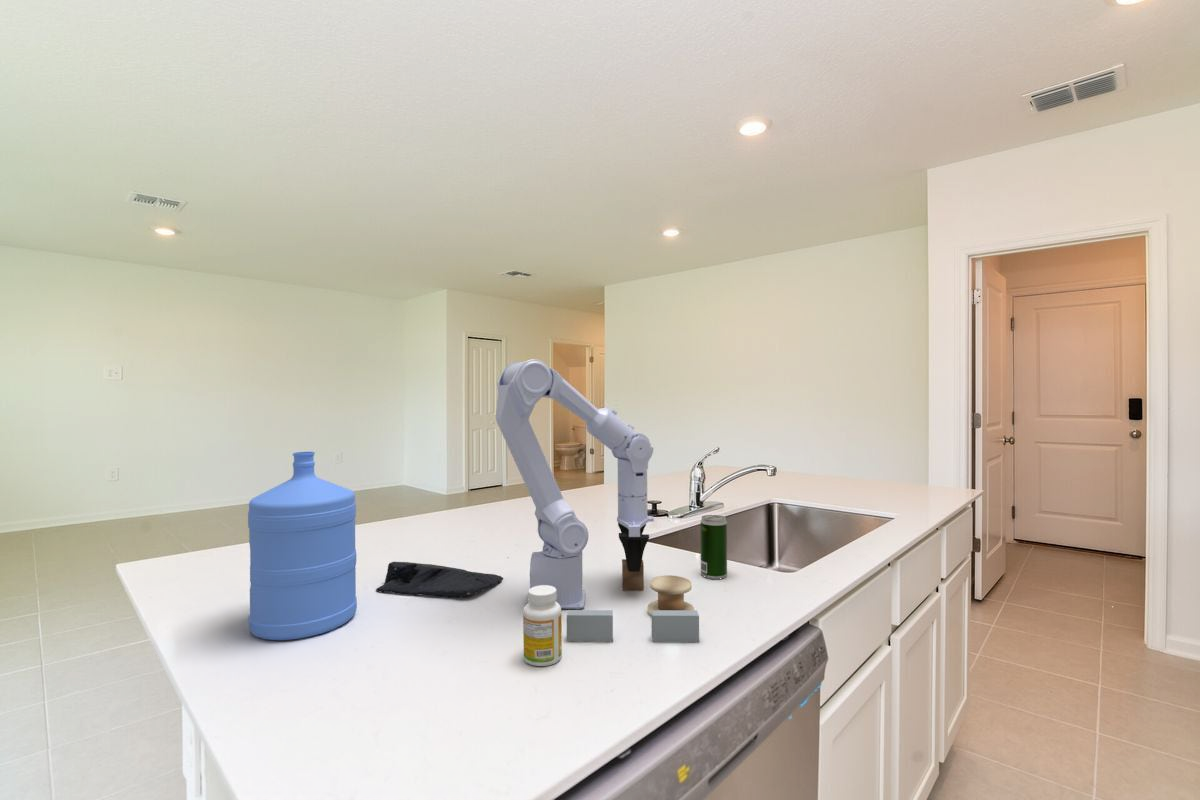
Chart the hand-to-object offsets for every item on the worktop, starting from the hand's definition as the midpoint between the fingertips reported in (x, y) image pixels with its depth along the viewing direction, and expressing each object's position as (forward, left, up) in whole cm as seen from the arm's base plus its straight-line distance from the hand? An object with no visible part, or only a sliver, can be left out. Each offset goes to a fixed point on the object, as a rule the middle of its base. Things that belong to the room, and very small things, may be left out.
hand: (633, 564), depth 104 cm
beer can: (+17, +7, -5) cm, 19 cm away
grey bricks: (-1, -22, -4) cm, 23 cm away
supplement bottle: (-14, -28, -5) cm, 32 cm away
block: (0, 0, -5) cm, 5 cm away
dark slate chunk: (-38, +1, -5) cm, 38 cm away
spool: (+6, -12, -4) cm, 14 cm away
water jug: (-55, -16, -5) cm, 58 cm away
